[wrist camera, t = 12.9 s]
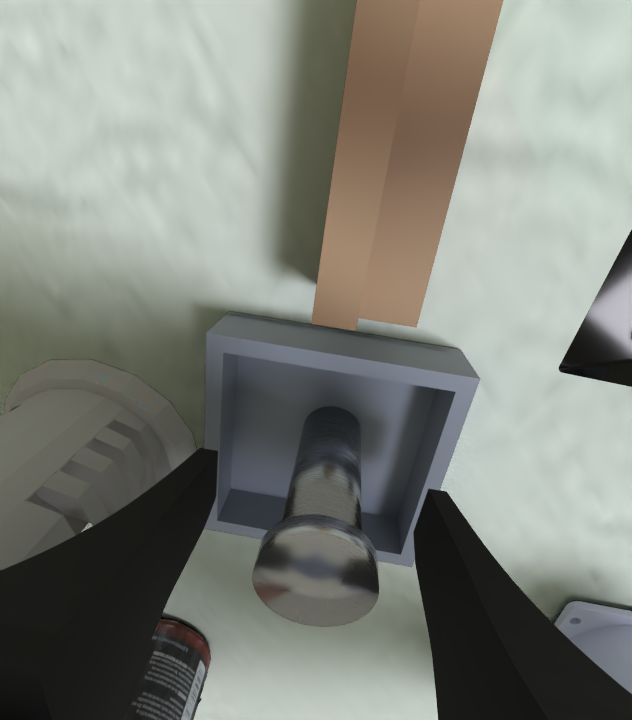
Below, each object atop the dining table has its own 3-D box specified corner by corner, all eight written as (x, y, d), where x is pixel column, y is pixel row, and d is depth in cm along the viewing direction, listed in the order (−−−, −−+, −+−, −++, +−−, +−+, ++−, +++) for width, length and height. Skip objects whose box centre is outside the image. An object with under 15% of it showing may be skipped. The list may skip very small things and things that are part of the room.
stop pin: (361, 467, 16) (364, 636, 10) (289, 454, 16) (248, 613, 10) (378, 405, 15) (392, 556, 9) (299, 391, 15) (258, 529, 9)
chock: (404, 300, 14) (422, 342, 10) (323, 287, 14) (311, 323, 10) (483, -25, 10) (562, -160, 6) (372, -40, 10) (382, -182, 6)
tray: (404, 519, 18) (411, 567, 16) (221, 486, 18) (202, 528, 16) (460, 349, 14) (479, 378, 12) (229, 311, 15) (206, 332, 12)
